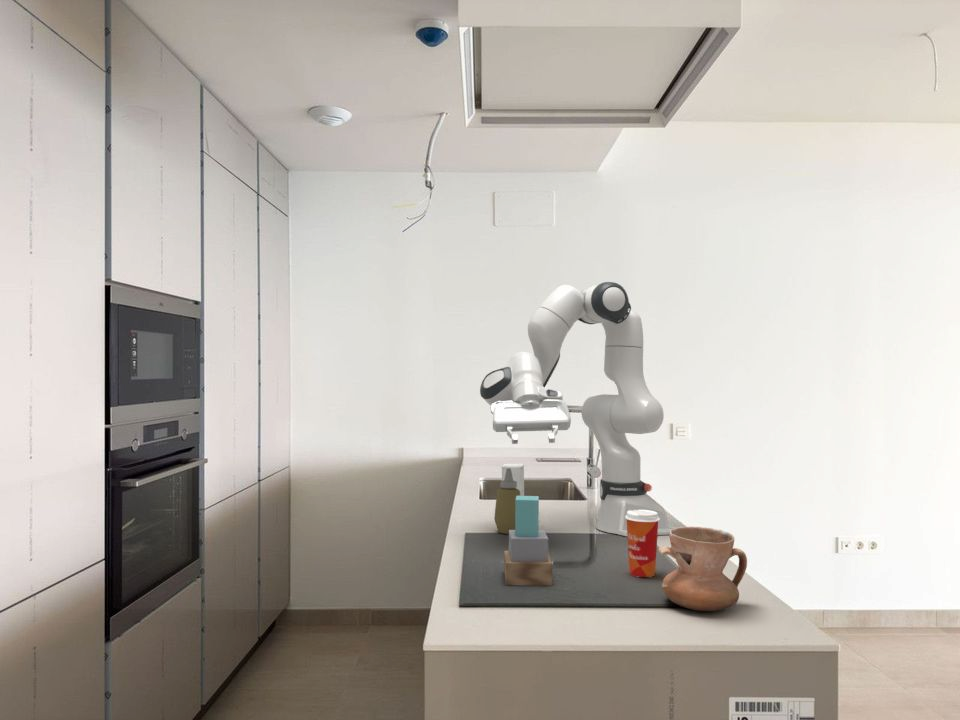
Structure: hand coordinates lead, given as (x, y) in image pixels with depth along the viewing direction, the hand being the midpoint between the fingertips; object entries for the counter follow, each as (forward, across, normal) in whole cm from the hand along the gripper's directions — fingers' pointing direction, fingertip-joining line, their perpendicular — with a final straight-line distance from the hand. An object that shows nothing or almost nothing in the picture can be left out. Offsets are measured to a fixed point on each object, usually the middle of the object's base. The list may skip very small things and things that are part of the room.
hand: (533, 441), depth 174 cm
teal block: (+27, -4, -2) cm, 28 cm away
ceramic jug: (+47, +29, -7) cm, 56 cm away
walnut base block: (+35, -4, +4) cm, 35 cm away
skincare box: (-13, -3, +54) cm, 56 cm away
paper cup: (+33, +22, +7) cm, 41 cm away
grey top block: (+31, -4, +1) cm, 31 cm away
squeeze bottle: (+5, -6, +35) cm, 36 cm away
